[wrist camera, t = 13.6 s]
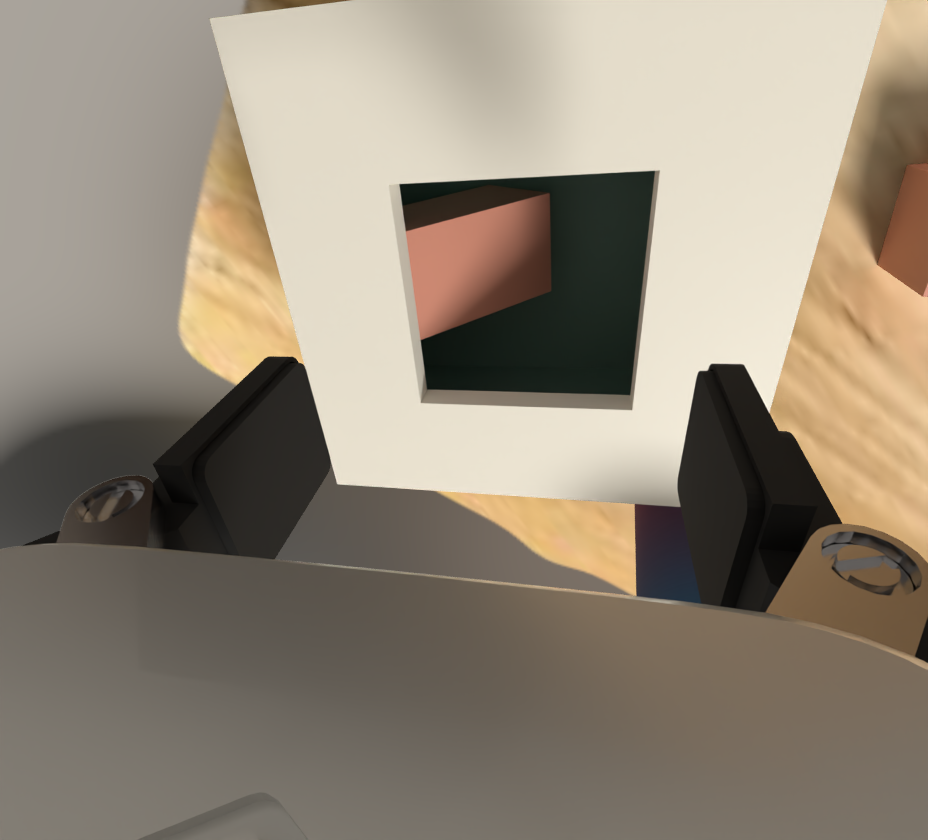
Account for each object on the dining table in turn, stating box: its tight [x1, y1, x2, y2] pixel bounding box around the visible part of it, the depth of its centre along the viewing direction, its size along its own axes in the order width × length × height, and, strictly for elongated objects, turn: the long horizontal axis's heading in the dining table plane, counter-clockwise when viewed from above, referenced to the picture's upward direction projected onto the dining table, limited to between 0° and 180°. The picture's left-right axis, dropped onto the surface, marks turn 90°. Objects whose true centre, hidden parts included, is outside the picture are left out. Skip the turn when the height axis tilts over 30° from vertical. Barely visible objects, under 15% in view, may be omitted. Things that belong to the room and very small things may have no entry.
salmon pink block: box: [402, 185, 551, 340], centre depth 22 cm, size 4×4×7 cm
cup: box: [635, 504, 701, 604], centre depth 25 cm, size 7×7×15 cm
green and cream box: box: [210, 0, 887, 507], centre depth 21 cm, size 16×16×10 cm
